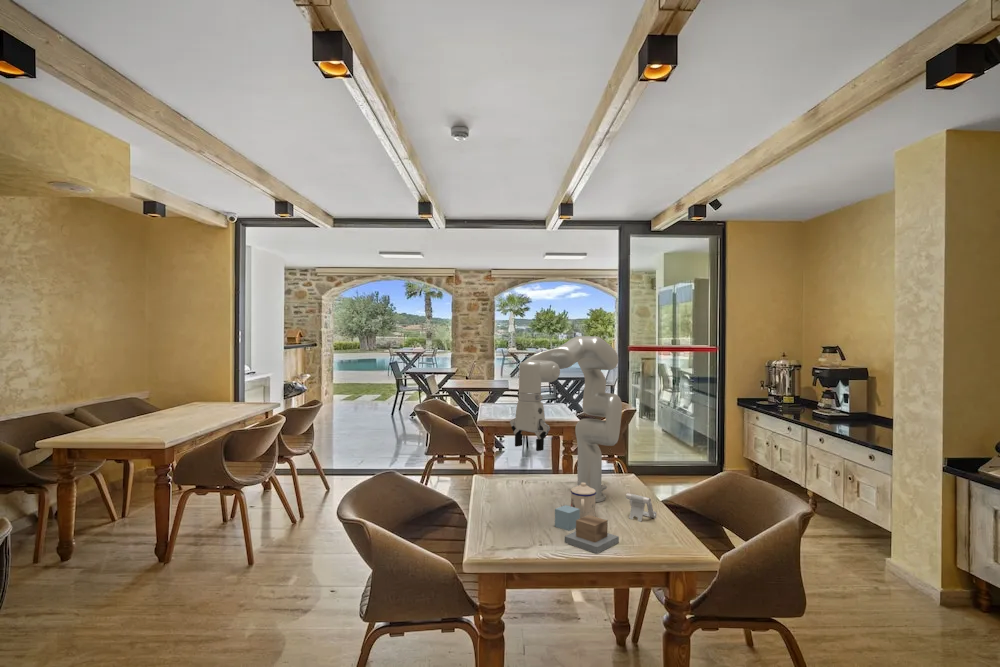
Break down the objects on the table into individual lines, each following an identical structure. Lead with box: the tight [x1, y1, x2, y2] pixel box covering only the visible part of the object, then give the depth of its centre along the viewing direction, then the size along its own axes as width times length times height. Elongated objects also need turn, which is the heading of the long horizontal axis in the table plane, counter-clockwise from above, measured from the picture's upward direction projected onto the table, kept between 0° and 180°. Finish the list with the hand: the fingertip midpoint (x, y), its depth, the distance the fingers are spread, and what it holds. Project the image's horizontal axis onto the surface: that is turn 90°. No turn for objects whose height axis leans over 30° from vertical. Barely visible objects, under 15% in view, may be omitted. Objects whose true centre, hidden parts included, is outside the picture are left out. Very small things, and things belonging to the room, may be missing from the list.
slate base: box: [564, 530, 620, 555], centre depth 164 cm, size 12×12×2 cm
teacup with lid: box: [570, 482, 596, 518], centre depth 188 cm, size 12×9×12 cm
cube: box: [554, 504, 580, 532], centre depth 178 cm, size 6×6×6 cm
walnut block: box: [575, 515, 608, 542], centre depth 164 cm, size 7×7×5 cm
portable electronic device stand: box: [625, 492, 658, 523], centre depth 188 cm, size 9×8×8 cm
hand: (529, 448), depth 178 cm, fingers open, 9 cm apart
